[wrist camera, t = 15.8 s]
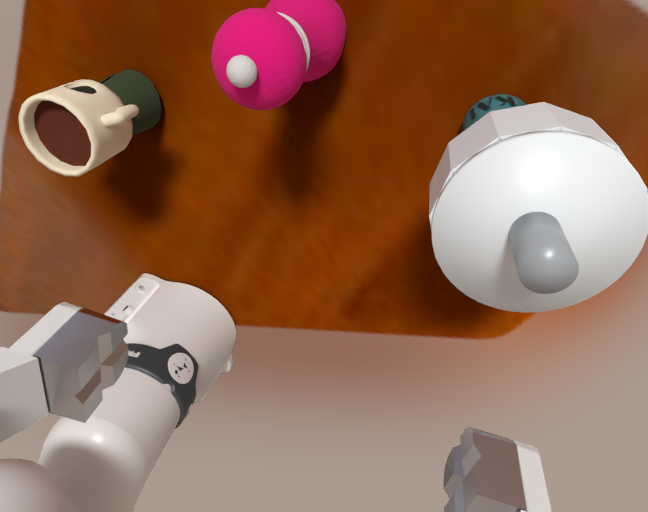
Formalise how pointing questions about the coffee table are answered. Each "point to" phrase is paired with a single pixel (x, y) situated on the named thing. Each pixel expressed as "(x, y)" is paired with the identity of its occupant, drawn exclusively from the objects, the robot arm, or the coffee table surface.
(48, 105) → the character mug
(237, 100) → the pepper mill
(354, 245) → the coffee table surface
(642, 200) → the cap
